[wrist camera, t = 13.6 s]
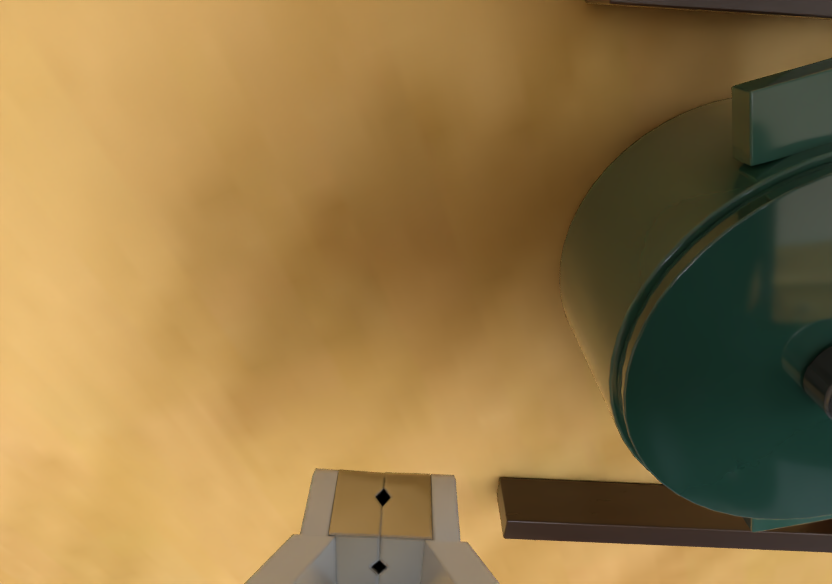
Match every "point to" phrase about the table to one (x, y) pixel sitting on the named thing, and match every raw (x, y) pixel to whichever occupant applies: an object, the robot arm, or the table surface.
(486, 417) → the table surface
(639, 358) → the pot
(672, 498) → the frame
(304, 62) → the table surface
